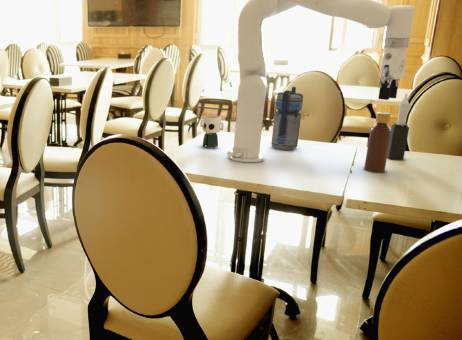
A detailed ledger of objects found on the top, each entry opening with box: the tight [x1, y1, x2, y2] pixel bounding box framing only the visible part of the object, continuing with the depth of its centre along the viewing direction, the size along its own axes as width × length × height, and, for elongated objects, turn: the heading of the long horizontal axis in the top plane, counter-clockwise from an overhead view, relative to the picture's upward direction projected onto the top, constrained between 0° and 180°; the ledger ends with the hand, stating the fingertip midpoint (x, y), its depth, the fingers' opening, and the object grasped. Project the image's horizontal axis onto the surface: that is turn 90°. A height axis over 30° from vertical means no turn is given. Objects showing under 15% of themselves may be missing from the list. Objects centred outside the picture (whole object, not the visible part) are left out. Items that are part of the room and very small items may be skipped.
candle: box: [387, 93, 410, 161], centre depth 196 cm, size 5×5×25 cm
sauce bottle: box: [363, 122, 391, 174], centre depth 179 cm, size 6×6×20 cm
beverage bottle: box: [270, 86, 304, 151], centre depth 210 cm, size 10×13×25 cm
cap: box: [375, 111, 391, 124], centre depth 177 cm, size 4×4×3 cm
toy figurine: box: [199, 114, 225, 149], centre depth 212 cm, size 11×7×13 cm, turn 45°
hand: (387, 98), depth 175 cm, fingers open, 5 cm apart
